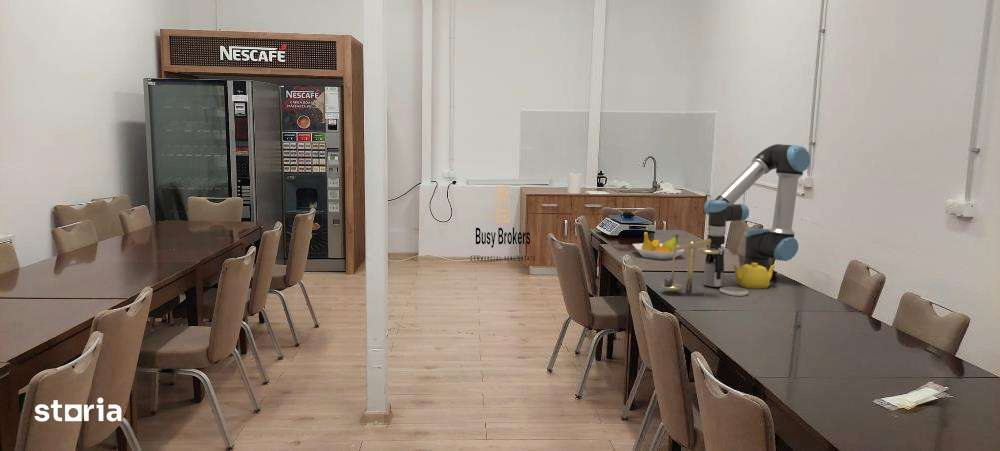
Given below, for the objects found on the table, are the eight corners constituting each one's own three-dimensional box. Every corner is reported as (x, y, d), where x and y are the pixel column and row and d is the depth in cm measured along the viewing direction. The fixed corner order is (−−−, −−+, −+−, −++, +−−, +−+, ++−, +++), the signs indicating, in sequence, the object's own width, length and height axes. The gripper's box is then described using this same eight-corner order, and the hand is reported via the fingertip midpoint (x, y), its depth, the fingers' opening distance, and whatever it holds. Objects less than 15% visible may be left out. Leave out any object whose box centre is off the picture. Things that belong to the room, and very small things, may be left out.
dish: (740, 289, 319) (741, 287, 318) (752, 296, 307) (753, 293, 307) (715, 289, 317) (715, 286, 317) (726, 296, 306) (726, 293, 305)
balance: (711, 290, 315) (715, 237, 311) (719, 296, 306) (723, 240, 302) (658, 290, 312) (661, 236, 308) (664, 295, 303) (668, 240, 300)
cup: (723, 287, 318) (724, 265, 317) (704, 286, 320) (705, 264, 319) (721, 282, 327) (722, 261, 325) (703, 281, 328) (704, 260, 327)
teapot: (765, 281, 337) (767, 259, 335) (782, 289, 322) (784, 266, 320) (721, 281, 335) (723, 258, 333) (735, 289, 320) (737, 265, 318)
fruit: (687, 262, 377) (689, 235, 375) (638, 260, 377) (640, 234, 375) (674, 251, 407) (676, 226, 404) (629, 250, 407) (630, 225, 405)
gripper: (699, 230, 330) (696, 278, 333) (717, 239, 309) (714, 289, 313) (715, 230, 330) (712, 278, 334) (734, 238, 310) (730, 289, 313)
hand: (713, 283), depth 323 cm, fingers closed on cup, 8 cm apart
